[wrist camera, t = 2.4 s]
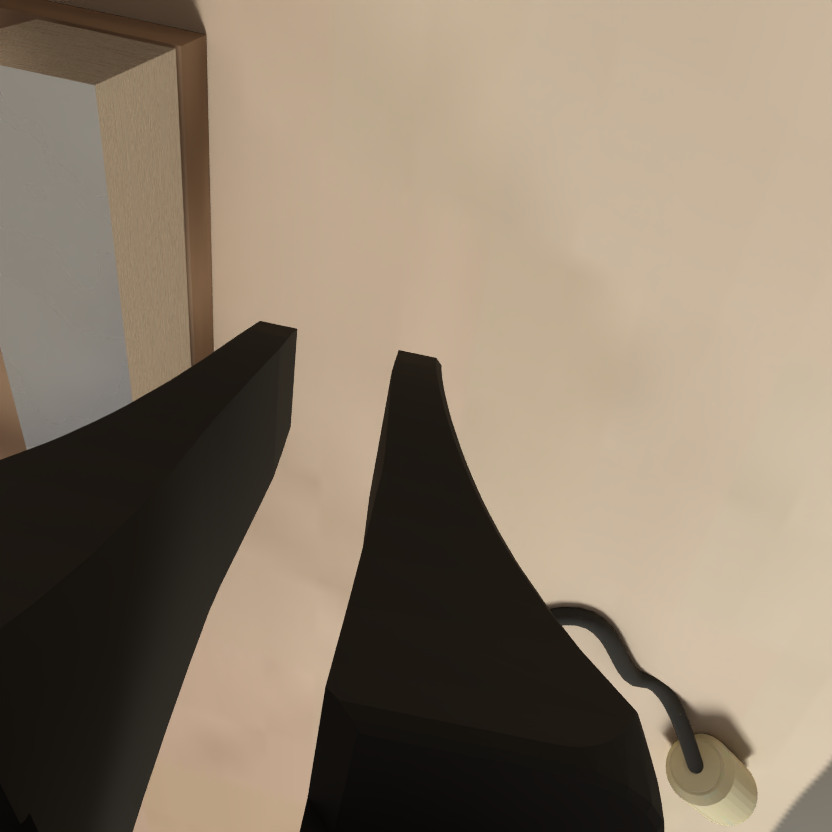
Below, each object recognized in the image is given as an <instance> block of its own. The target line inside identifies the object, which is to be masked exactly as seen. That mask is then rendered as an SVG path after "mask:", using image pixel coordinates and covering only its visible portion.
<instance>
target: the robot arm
mask: <svg viewBox="0 0 832 832" xmlns="http://www.w3.org/2000/svg"><path fill="white" fill-rule="evenodd" d="M296 339H297V329H295V328H291V327H286V326H281V325H276V324H272V323H267V322H262V321H259V322H258V323H256V324H255V325H253V326H252V327H250V328H248V329H247V330H245V331H244V332H242V333H241V334H239V335H238V336H236V337H235V338H233V339H232V340H231V341H229V342H228V343H226V344H225V345H223V346H222V347H220V348H219V349H217V350H216V351H214V352H213V353H211V354H210V355H208V356H207V357H205V358H204V359H203V360H201V361H199V362H198V363H196V364H195V365H193V366H192V367H190V368H188V369H187V370H185V371H184V372H182V373H181V374H179V375H178V376H176V377H174V378H173V379H171V380H170V381H168V382H166V383H165V384H163V385H161V386H159V387H158V388H156V389H154V390H152V391H151V392H149V393H147V394H145V395H144V396H142V397H140V398H138V399H137V400H135V401H133V402H131V403H130V404H128V405H126V406H124V407H122V408H120V409H118V410H116V411H115V412H113V413H111V414H109V415H107V416H105V417H102V418H100V419H98V420H96V421H94V422H92V423H90V424H88V425H85V426H83V427H81V428H79V429H77V430H74V431H72V432H70V433H68V434H66V435H63V436H61V437H59V438H56V439H54V440H52V441H49V442H47V443H44V444H41V445H39V446H36V447H33V448H31V449H28V450H25V451H23V452H20V453H17V454H15V455H12V456H9V457H7V458H4V459H1V460H0V832H133V829H134V826H135V822H136V819H137V816H138V813H139V810H140V807H141V804H142V800H143V797H144V794H145V791H146V788H147V785H148V782H149V780H150V777H151V774H152V771H153V768H154V765H155V762H156V759H157V756H158V753H159V750H160V747H161V744H162V741H163V738H164V735H165V732H166V729H167V726H168V723H169V720H170V718H171V715H172V712H173V709H174V706H175V703H176V701H177V698H178V695H179V692H180V689H181V686H182V684H183V681H184V678H185V675H186V672H187V669H188V667H189V664H190V661H191V659H192V656H193V653H194V650H195V648H196V645H197V642H198V640H199V637H200V634H201V631H202V629H203V626H204V623H205V621H206V618H207V615H208V613H209V610H210V608H211V606H212V603H213V601H214V599H215V596H216V594H217V592H218V590H219V587H220V585H221V583H222V581H223V579H224V577H225V575H226V573H227V571H228V569H229V567H230V565H231V563H232V561H233V559H234V557H235V555H236V553H237V551H238V549H239V547H240V545H241V543H242V541H243V539H244V537H245V535H246V533H247V530H248V528H249V526H250V524H251V522H252V520H253V518H254V516H255V514H256V512H257V510H258V508H259V506H260V504H261V502H262V500H263V498H264V496H265V494H266V492H267V490H268V488H269V485H270V483H271V481H272V479H273V477H274V474H275V471H276V468H277V466H278V463H279V460H280V457H281V454H282V451H283V448H284V445H285V442H286V439H287V436H288V433H289V430H290V427H291V413H292V398H293V383H294V368H295V354H296ZM300 832H664V818H663V811H662V803H661V798H660V792H659V787H658V782H657V778H656V774H655V771H654V767H653V763H652V760H651V756H650V752H649V749H648V746H647V742H646V739H645V735H644V732H643V729H642V725H641V722H640V719H639V716H638V713H637V712H636V710H635V709H634V708H633V707H632V706H631V705H630V704H629V703H628V702H627V701H626V699H625V698H624V697H623V696H622V695H621V694H620V693H619V692H618V691H617V690H616V688H615V687H614V686H613V685H612V684H611V683H610V682H609V681H608V680H607V679H606V677H605V676H604V675H603V674H602V673H601V672H600V671H599V670H598V669H597V667H596V666H595V665H594V664H593V663H592V662H591V661H590V660H589V659H588V658H587V656H586V655H585V654H584V653H583V652H582V651H581V650H580V649H579V647H578V646H577V645H576V644H575V642H574V641H573V640H572V638H571V637H570V636H569V635H568V633H567V632H566V631H565V630H564V628H563V627H562V626H561V624H560V623H559V622H558V621H557V619H556V618H555V617H554V615H553V614H552V613H551V611H550V610H549V608H548V607H547V605H546V604H545V602H544V601H543V600H542V598H541V597H540V595H539V594H538V592H537V591H536V589H535V588H534V586H533V585H532V584H531V582H530V581H529V579H528V578H527V576H526V575H525V573H524V572H523V571H522V569H521V568H520V566H519V565H518V563H517V561H516V560H515V558H514V556H513V555H512V553H511V551H510V550H509V548H508V546H507V545H506V543H505V541H504V540H503V538H502V536H501V535H500V533H499V531H498V529H497V527H496V525H495V523H494V521H493V520H492V518H491V516H490V514H489V512H488V510H487V508H486V506H485V504H484V502H483V500H482V498H481V496H480V493H479V491H478V489H477V487H476V485H475V482H474V480H473V478H472V475H471V473H470V470H469V468H468V466H467V463H466V461H465V458H464V455H463V453H462V450H461V447H460V444H459V441H458V438H457V435H456V432H455V429H454V426H453V423H452V420H451V416H450V413H449V409H448V405H447V401H446V397H445V392H444V387H443V381H442V372H441V364H440V363H439V361H438V360H437V358H434V357H429V356H424V355H419V354H415V353H410V352H405V351H400V350H399V351H398V354H397V357H396V360H395V363H394V367H393V370H392V374H391V379H390V385H389V391H388V396H387V402H386V407H385V413H384V419H383V424H382V430H381V435H380V441H379V447H378V452H377V458H376V463H375V469H374V474H373V480H372V486H371V491H370V497H369V505H368V512H367V520H366V528H365V536H364V544H363V549H362V553H361V557H360V561H359V565H358V568H357V572H356V576H355V580H354V584H353V588H352V591H351V595H350V599H349V603H348V607H347V610H346V614H345V618H344V621H343V625H342V629H341V632H340V636H339V640H338V643H337V647H336V651H335V654H334V658H333V662H332V665H331V669H330V673H329V676H328V680H327V683H326V687H325V694H324V700H323V706H322V712H321V718H320V725H319V731H318V737H317V743H316V749H315V756H314V762H313V768H312V774H311V780H310V787H309V793H308V799H307V803H306V807H305V812H304V816H303V820H302V825H301V829H300Z"/></svg>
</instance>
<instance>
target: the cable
mask: <svg viewBox="0 0 832 832" xmlns="http://www.w3.org/2000/svg"><path fill="white" fill-rule="evenodd" d="M549 610H550V611H551V613H552V614H553V615H554V617H555V618H556V619H557V621H558V622H559V623H560V624H561V626H562V625H575V626H580V627H583V628H586V629H588V630H589V631H591V632H592V633H593V634H594V635H595V636H596V637H597V638H598V639H599V640H600V641H601V643H602V644H603V646H604V647H605V649H606V651H607V653H608V654H609V656H610V658H611V660H612V662H613V664H614V666H615V668H616V669H617V671H618V673H619V674H620V675H621V677H622V678H623V679H624V680H625V681H626V682H628V683H629V684H630V685H632V686H636V687H642V688H648V689H649V690H651V691H653V693H654V694H655V695H656V696H657V697H658V698H659V699H660V701H661V702H662V704H663V705H664V707H665V709H666V711H667V713H668V715H669V717H670V719H671V722H672V724H673V726H674V729H675V732H676V734H677V737H678V740H677V741H676V742H675V743H674V744H673V745H672V747H671V748H670V750H669V752H668V755H667V759H666V774H667V777H668V781H669V783H670V785H671V787H672V788H673V790H674V791H675V793H676V794H677V795H678V796H680V797H681V798H682V799H683V800H684V801H685V802H687V803H688V804H689V805H691V806H692V807H693V808H694V809H696V810H697V811H698V812H699V813H701V814H702V815H703V816H704V817H706V818H707V819H709V820H710V821H711V822H714V823H716V824H719V825H723V826H733V825H737V824H740V823H742V822H744V821H745V820H746V819H748V818H749V817H750V815H751V814H752V813H753V811H754V809H755V807H756V803H757V787H756V783H755V780H754V778H753V776H752V774H751V773H750V771H749V770H748V769H747V768H746V766H745V765H744V764H743V763H742V762H741V761H740V760H739V759H737V758H736V757H735V756H734V755H733V754H732V753H731V752H730V751H729V750H728V749H727V748H726V747H725V746H724V745H723V744H722V743H721V742H720V741H719V740H718V739H716V738H714V737H712V736H710V735H707V734H694V733H693V730H692V728H691V725H690V723H689V720H688V718H687V715H686V713H685V711H684V709H683V707H682V705H681V703H680V701H679V699H678V697H677V696H676V694H675V693H674V692H673V691H672V690H671V689H670V688H669V687H668V686H666V685H665V684H664V683H662V682H661V681H659V680H658V679H656V678H655V677H653V676H650V675H648V674H646V673H644V672H642V671H639V670H638V669H637V668H636V667H635V666H634V665H633V663H632V661H631V659H630V658H629V656H628V654H627V652H626V649H625V647H624V646H623V644H622V642H621V640H620V638H619V637H618V635H617V634H616V632H615V631H614V629H613V628H612V627H611V626H610V625H609V624H608V623H607V622H606V621H605V620H604V619H603V618H602V617H600V616H599V615H597V614H595V613H594V612H592V611H588V610H585V609H581V608H571V607H560V608H555V609H549Z"/></svg>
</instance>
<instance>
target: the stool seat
mask: <svg viewBox="0 0 832 832" xmlns="http://www.w3.org/2000/svg"><path fill="white" fill-rule="evenodd" d="M35 19H39V20H44V21H49V22H53V23H58V24H63V25H67V26H72V27H77V28H81V29H86V30H91V31H95V32H100V33H105V34H109V35H114V36H119V37H123V38H128V39H133V40H137V41H142V42H147V43H151V44H156V45H161V46H166V47H170V48H175V49H176V67H177V88H178V108H179V129H180V149H181V170H182V190H183V211H184V231H185V252H186V272H187V293H188V313H189V333H190V354H191V367H192V366H193V365H195V364H196V363H198V362H199V361H201V360H203V359H204V358H205V357H207V356H208V355H210V354H211V353H213V352H214V349H213V306H212V262H211V219H210V176H209V133H208V90H207V46H206V35H205V34H200V33H196V32H191V31H186V30H182V29H177V28H172V27H168V26H163V25H158V24H154V23H149V22H144V21H140V20H135V19H130V18H125V17H121V16H116V15H111V14H107V13H102V12H97V11H93V10H88V9H83V8H79V7H74V6H69V5H65V4H60V3H55V2H51V1H46V0H0V29H1V28H4V27H8V26H12V25H16V24H20V23H24V22H28V21H31V20H35ZM25 450H27V449H26V445H25V441H24V437H23V433H22V429H21V426H20V422H19V418H18V414H17V410H16V406H15V402H14V399H13V395H12V391H11V387H10V383H9V379H8V375H7V371H6V368H5V364H4V360H3V356H2V352H1V348H0V460H1V459H4V458H7V457H9V456H12V455H15V454H17V453H20V452H23V451H25Z"/></svg>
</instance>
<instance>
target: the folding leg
mask: <svg viewBox="0 0 832 832" xmlns="http://www.w3.org/2000/svg"><path fill="white" fill-rule="evenodd" d="M0 348H1V352H2V356H3V360H4V364H5V368H6V371H7V375H8V379H9V383H10V387H11V391H12V395H13V399H14V402H15V406H16V410H17V414H18V418H19V422H20V426H21V429H22V433H23V437H24V441H25V445H26V449H27V450H28V449H31V448H33V447H36V446H39V445H41V444H44V443H47V442H49V441H52V440H54V439H56V438H59V437H61V436H63V435H66V434H68V433H70V432H72V431H74V430H77V429H79V428H81V427H83V426H85V425H88V424H90V423H92V422H94V421H96V420H98V419H100V418H102V417H105V416H107V415H109V414H111V413H113V412H115V411H116V410H118V409H120V408H122V407H124V406H126V405H128V404H130V403H131V402H133V401H135V400H137V399H138V398H140V397H142V396H144V395H145V394H147V393H149V392H151V391H152V390H154V389H156V388H158V387H159V386H161V385H163V384H165V383H166V382H168V381H170V380H171V379H173V378H174V377H176V376H178V375H179V374H181V373H182V372H184V371H185V370H187V369H188V368H190V367H191V354H190V333H189V313H188V293H187V272H186V252H185V231H184V211H183V190H182V170H181V149H180V129H179V108H178V88H177V67H176V49H175V48H170V47H166V46H161V45H156V44H151V43H147V42H142V41H137V40H133V39H128V38H123V37H119V36H114V35H109V34H105V33H100V32H95V31H91V30H86V29H81V28H77V27H72V26H67V25H63V24H58V23H53V22H49V21H44V20H39V19H35V20H31V21H28V22H24V23H20V24H16V25H12V26H8V27H4V28H1V29H0Z"/></svg>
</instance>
